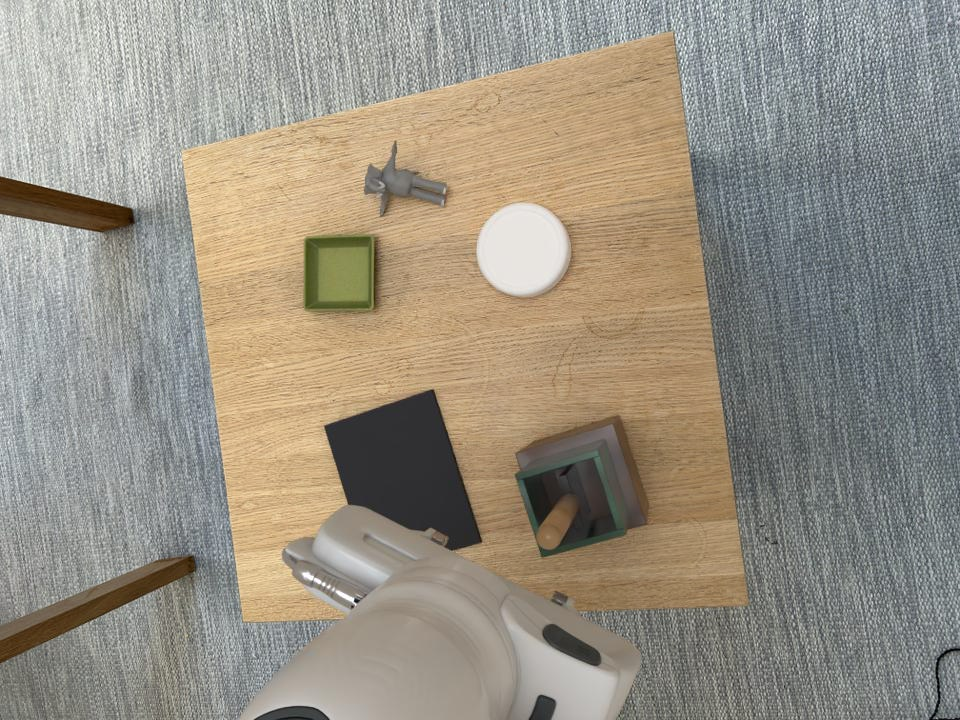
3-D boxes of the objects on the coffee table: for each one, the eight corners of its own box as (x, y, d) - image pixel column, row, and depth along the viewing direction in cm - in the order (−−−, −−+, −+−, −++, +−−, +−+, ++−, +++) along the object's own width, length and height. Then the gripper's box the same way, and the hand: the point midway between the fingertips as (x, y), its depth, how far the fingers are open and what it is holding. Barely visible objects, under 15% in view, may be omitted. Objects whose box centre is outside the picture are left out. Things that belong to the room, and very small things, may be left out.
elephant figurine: (433, 245, 87) (355, 225, 86) (439, 214, 92) (364, 195, 90) (453, 172, 80) (368, 149, 79) (458, 142, 84) (377, 120, 83)
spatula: (596, 509, 73) (569, 569, 53) (578, 514, 74) (545, 576, 53) (580, 461, 74) (548, 502, 53) (562, 466, 74) (523, 510, 54)
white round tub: (525, 188, 85) (520, 181, 81) (590, 249, 83) (587, 245, 80) (464, 255, 86) (456, 251, 83) (527, 316, 85) (521, 315, 81)
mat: (482, 541, 86) (480, 542, 86) (371, 572, 89) (369, 574, 89) (433, 389, 87) (431, 389, 87) (325, 425, 91) (323, 425, 90)
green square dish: (311, 238, 91) (303, 235, 89) (380, 236, 89) (373, 233, 87) (311, 312, 91) (302, 311, 89) (380, 311, 89) (373, 310, 87)
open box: (649, 504, 82) (644, 545, 64) (560, 528, 84) (532, 575, 67) (619, 414, 83) (606, 431, 65) (532, 441, 85) (497, 465, 67)
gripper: (246, 609, 41) (349, 546, 55) (598, 806, 37) (616, 685, 50) (288, 504, 41) (382, 466, 54) (651, 692, 36) (655, 600, 50)
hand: (497, 573), depth 52 cm, fingers open, 8 cm apart
